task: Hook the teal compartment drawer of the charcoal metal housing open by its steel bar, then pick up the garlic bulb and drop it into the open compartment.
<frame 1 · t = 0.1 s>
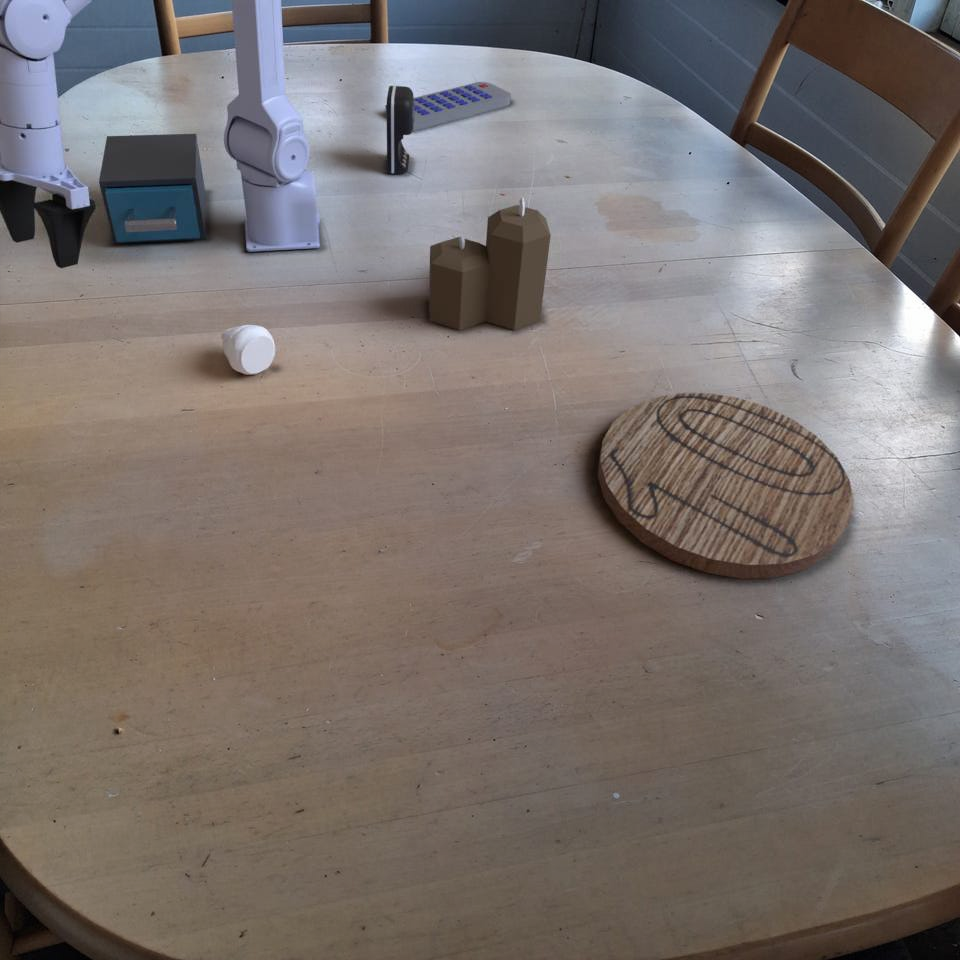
hand: (45, 252, 96), 11 cm above the table, tool pointing down, fingers open, 7 cm apart
candle: (489, 306, 113), on the table
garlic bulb: (245, 364, 101), on the table
remote control: (450, 111, 157), on the table
battery charger: (400, 167, 140), on the table
trivet: (720, 485, 91), on the table
cabinet: (161, 217, 124), on the table
drawer: (154, 201, 118), point 4 cm above the table, slide at 0.0 cm
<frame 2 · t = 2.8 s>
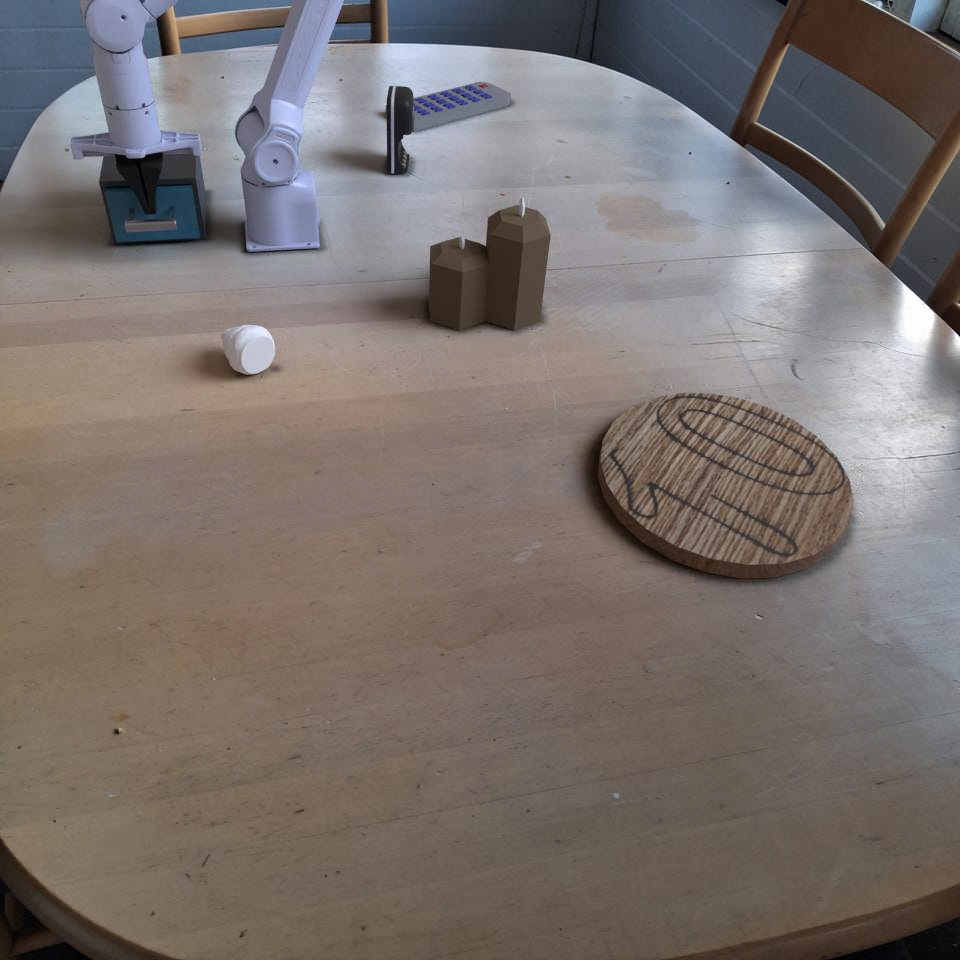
hand: (150, 210, 113), 6 cm above the table, tool pointing down, fingers closed, pressing on drawer
drawer: (154, 201, 118), point 4 cm above the table, slide at 0.0 cm, touching cabinet, gripper
everything else where it was.
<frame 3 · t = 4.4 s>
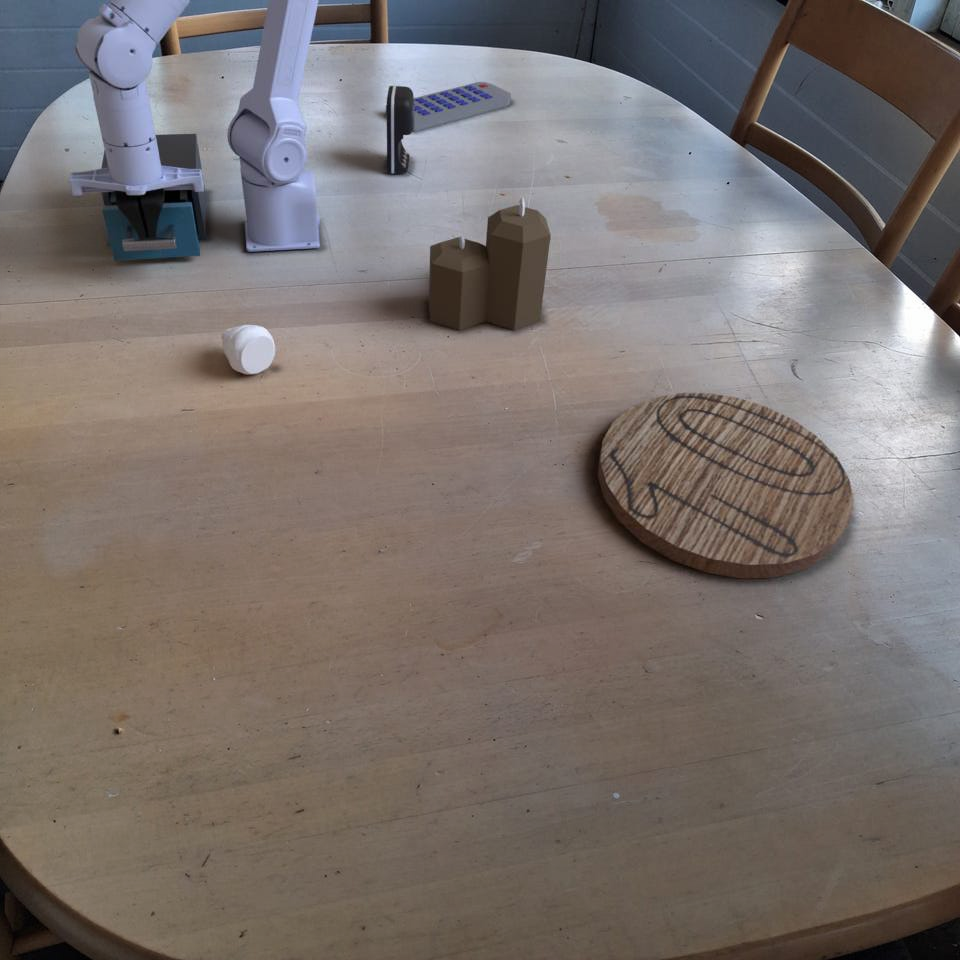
hand: (150, 246, 111), 4 cm above the table, tool pointing down, fingers closed, pressing on drawer
drawer: (153, 218, 115), point 4 cm above the table, slide at 4.6 cm, touching gripper
everything else where it was.
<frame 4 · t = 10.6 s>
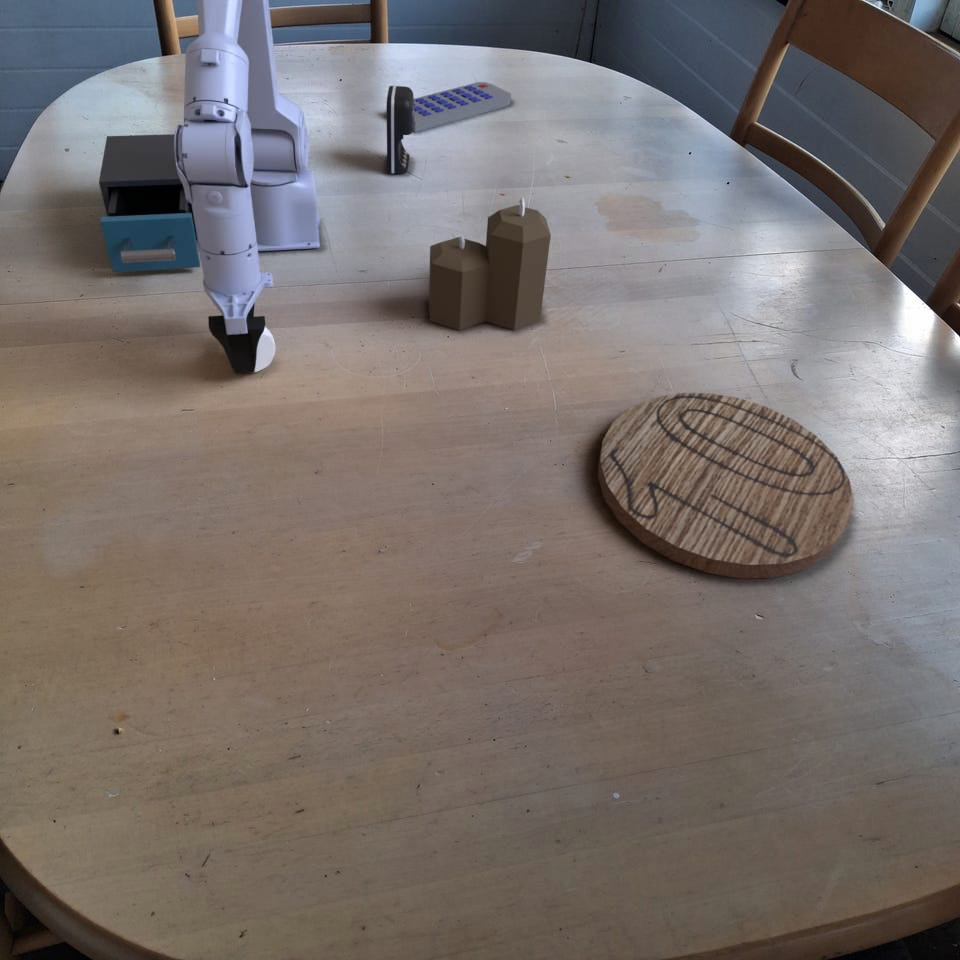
hand: (243, 352, 100), 1 cm above the table, tool pointing down, fingers closed on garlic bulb, 6 cm apart
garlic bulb: (245, 362, 101), on the table, touching gripper
drawer: (152, 229, 113), point 4 cm above the table, slide at 7.4 cm
everything else where it was.
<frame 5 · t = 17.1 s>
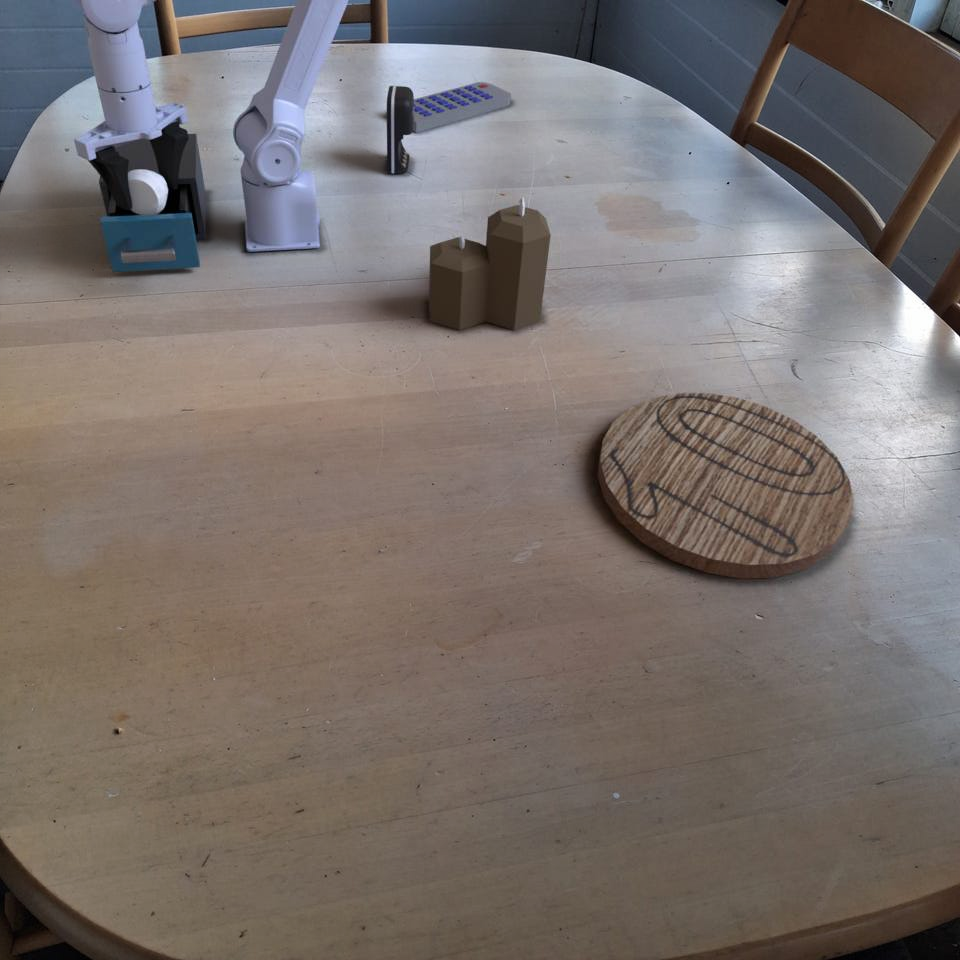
hand: (147, 196, 111), 8 cm above the table, tool pointing down, fingers closed on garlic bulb, 6 cm apart
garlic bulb: (152, 208, 112), point 6 cm above the table, touching gripper
everything else where it was.
when the fingers open (10 cm above the table, at t = 33.7 s): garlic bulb drops 7 cm, resting on drawer.
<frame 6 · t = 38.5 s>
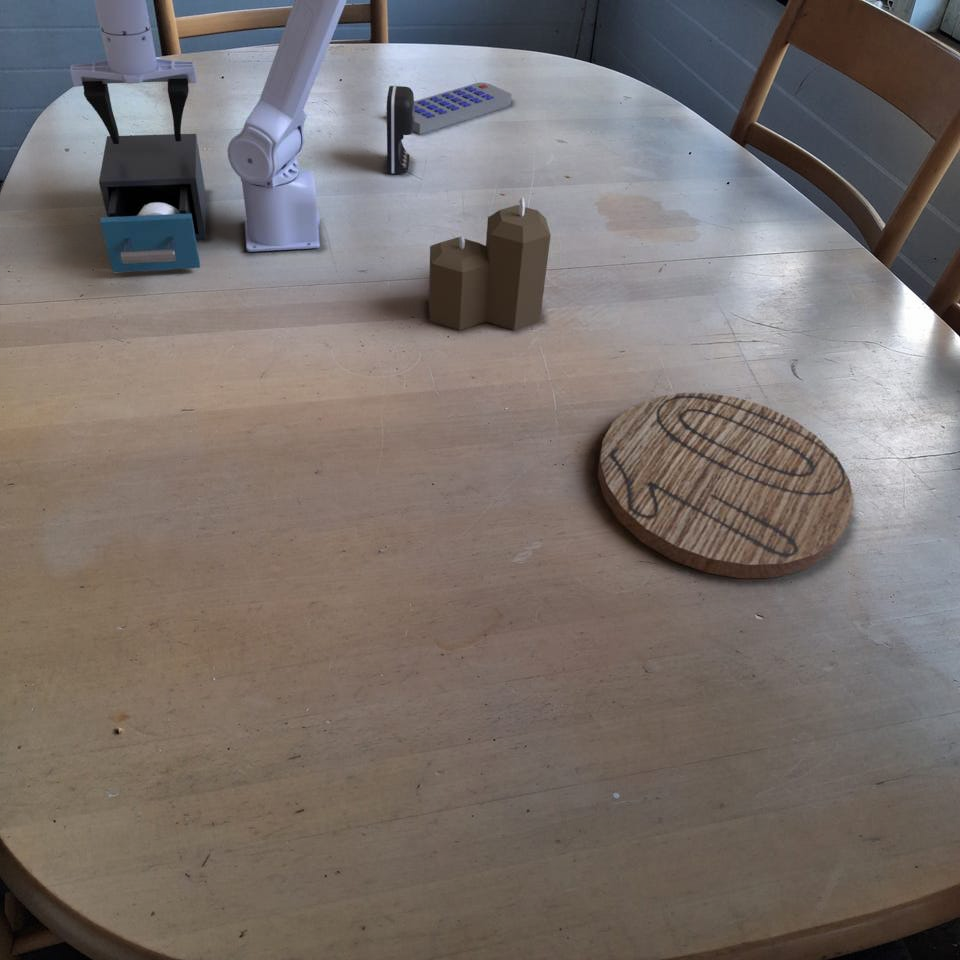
hand: (147, 139, 117), 10 cm above the table, tool pointing down, fingers open, 7 cm apart
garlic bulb: (165, 238, 116), point 2 cm above the table, touching drawer
drawer: (152, 230, 113), point 4 cm above the table, slide at 7.5 cm, touching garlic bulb
everything else where it was.
at the end: drawer slide at 7.5 cm; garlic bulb inside the target area in the cabinet (5.5 cm from its centre), point 1.8 cm above the cabinet's base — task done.
